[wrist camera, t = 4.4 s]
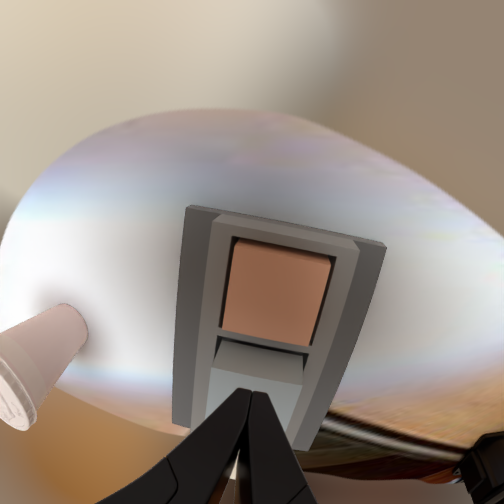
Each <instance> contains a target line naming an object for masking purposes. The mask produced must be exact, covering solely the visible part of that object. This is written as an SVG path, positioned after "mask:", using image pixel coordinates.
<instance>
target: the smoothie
mask: <svg viewBox="0 0 504 504" xmlns="http://www.w3.org/2000/svg"><path fill="white" fill-rule="evenodd" d="M87 337H88V330H87V326H86V323H85V321H84V319H83V318H82V316H81V315H80V314H79V312H78V311H77V310H75V309H74V308H73V307H71V306H70V305H67V304H59V305H57V306H55V307H53V308H51V309H49V310H47V311H45V312H42V313H40V314H38V315H36V316H34V317H32V318H30V319H28V320H26V321H24V322H22V323H20V324H18V325H16V326H14V327H12V328H10V329H8V330H6V331H4V332H2V333H0V418H1V419H2V420H3V421H5V422H6V423H7V424H9V425H10V426H12V427H14V428H16V429H18V430H22V431H25V430H27V429H28V428H29V427H30V426H31V425H32V424H34V423H35V422H36V420H37V413H36V411H37V410H38V408H39V407H40V406H41V404H42V403H43V401H44V400H45V398H46V396H47V395H48V394H49V392H50V391H51V389H52V388H53V386H54V385H55V383H56V382H57V380H58V379H59V378H60V376H61V375H62V373H63V372H64V370H65V369H66V368H67V366H68V365H69V363H70V362H71V361H72V359H73V358H74V356H75V355H76V354H77V352H78V351H79V350H80V348H81V347H82V346H83V344H84V343H85V342H86V340H87Z"/></svg>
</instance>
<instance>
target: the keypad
mask: <svg viewBox="0 0 504 504" xmlns="http://www.w3.org/2000/svg"><path fill="white" fill-rule="evenodd" d="M240 237H242V238H247V239H253V240H258V241H263V242H268V243H273V244H278V245H283V246H288V247H293V248H298V249H303V250H308V251H313V252H318V253H323V254H327V255H328V258H329V261H330V264H331V267H330V271H329V275H328V279H327V283H326V286H325V290H324V294H323V297H322V301H321V304H320V308H319V312H318V315H317V318H316V322H315V325H314V329H313V332H312V335H311V339H310V342H309V345H308V347H307V346H301V345H296V344H290V343H285V342H279V341H274V340H269V339H264V338H259V337H254V336H250V335H245V334H240V333H236V332H231V331H227V330H222V326H223V319H224V312H225V305H226V299H227V292H228V285H229V279H230V272H231V266H232V259H233V253H234V247H235V245H236V243H237V242H238V240H239V239H240ZM386 249H387V247H386V246H385V245H384V244H383V243H381V242H377V241H372V240H368V239H363V238H359V237H354V236H349V235H345V234H340V233H335V232H331V231H326V230H321V229H316V228H312V227H307V226H302V225H297V224H292V223H287V222H282V221H277V220H272V219H266V218H261V217H256V216H251V215H245V214H240V213H235V212H229V211H224V210H218V209H213V208H207V207H201V206H195V205H190V206H188V207H186V211H185V220H184V228H183V238H182V247H181V257H180V268H179V280H178V292H177V305H176V320H175V338H174V359H173V390H172V423H173V424H176V425H180V426H183V427H187V428H190V429H191V431H190V433H191V432H192V431H193V430H194V429H196V428H197V427H198V426H199V425H200V424H201V423H202V422H203V421H204V420H205V414H206V406H207V397H208V389H209V381H210V373H211V367H212V364H213V362H214V359H215V357H216V354H217V352H218V349H219V347H220V344H221V342H222V340H225V341H229V342H234V343H238V344H243V345H248V346H252V347H257V348H262V349H267V350H272V351H277V352H283V353H288V354H294V355H299V356H303V386H302V389H301V392H300V395H299V398H298V400H297V403H296V406H295V408H294V411H293V414H292V416H291V419H290V422H289V424H288V427H287V429H286V432H285V434H286V436H287V438H288V440H289V443H290V445H291V447H292V449H295V450H303V451H308V450H309V448H310V446H311V444H312V442H313V440H314V438H315V436H316V434H317V432H318V430H319V428H320V426H321V424H322V422H323V420H324V417H325V415H326V413H327V411H328V409H329V407H330V404H331V402H332V400H333V398H334V395H335V393H336V391H337V389H338V386H339V384H340V382H341V379H342V377H343V374H344V372H345V370H346V367H347V365H348V362H349V360H350V357H351V354H352V352H353V349H354V347H355V344H356V341H357V339H358V336H359V333H360V331H361V328H362V325H363V322H364V319H365V317H366V314H367V311H368V308H369V305H370V302H371V299H372V296H373V293H374V289H375V286H376V283H377V280H378V277H379V273H380V270H381V267H382V263H383V260H384V256H385V253H386Z"/></svg>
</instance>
